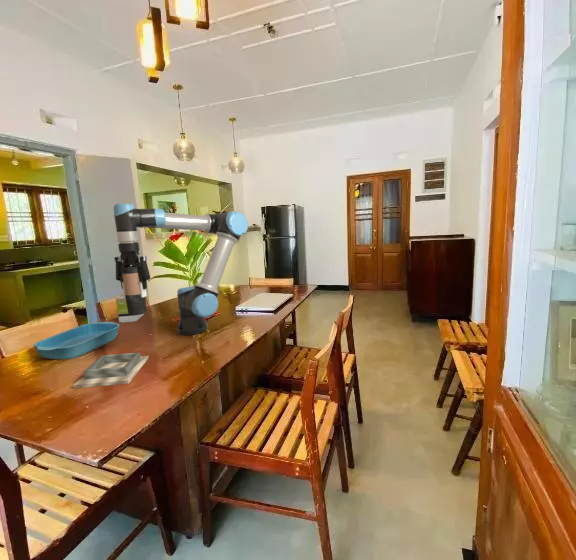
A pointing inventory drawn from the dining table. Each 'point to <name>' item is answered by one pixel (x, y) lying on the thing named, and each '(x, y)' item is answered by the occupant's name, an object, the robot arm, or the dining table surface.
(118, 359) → the docking board
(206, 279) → the robot arm
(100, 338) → the casserole dish
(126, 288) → the travel mug
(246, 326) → the dining table surface
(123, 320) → the tea box
